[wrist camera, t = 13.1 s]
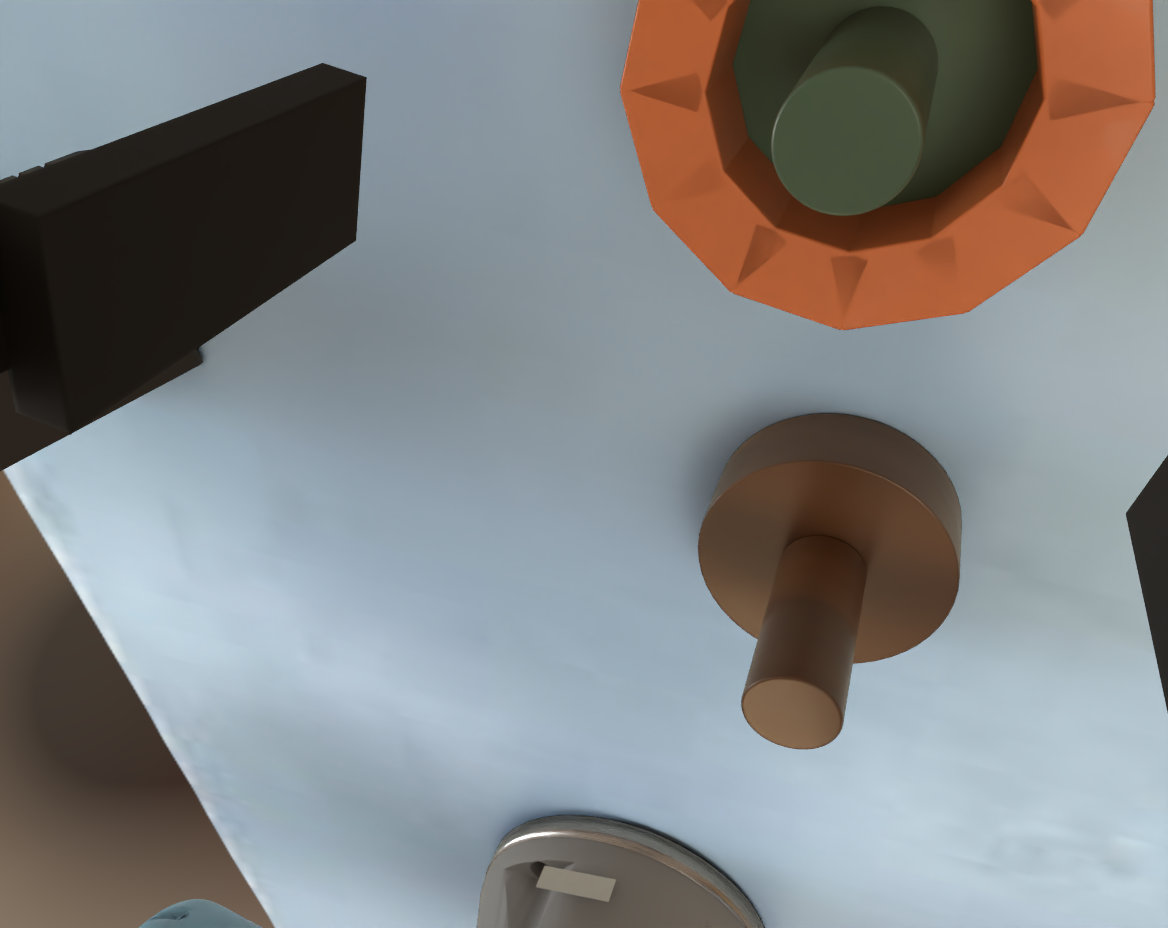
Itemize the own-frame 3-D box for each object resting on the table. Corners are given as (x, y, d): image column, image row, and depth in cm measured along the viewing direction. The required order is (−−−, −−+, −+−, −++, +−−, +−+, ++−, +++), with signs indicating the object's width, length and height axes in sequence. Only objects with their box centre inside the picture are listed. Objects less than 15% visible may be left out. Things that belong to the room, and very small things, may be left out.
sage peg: (973, 239, 28) (967, 401, 20) (695, 150, 29) (593, 272, 21) (1132, -91, 22) (1201, -36, 15) (785, -182, 24) (692, -173, 16)
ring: (999, 332, 26) (999, 385, 23) (620, 206, 27) (585, 244, 25) (1246, -134, 19) (1281, -124, 17) (729, -264, 21) (695, -272, 18)
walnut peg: (903, 639, 36) (880, 856, 29) (690, 557, 37) (617, 745, 30) (1006, 466, 31) (1011, 675, 24) (756, 378, 32) (686, 550, 25)
